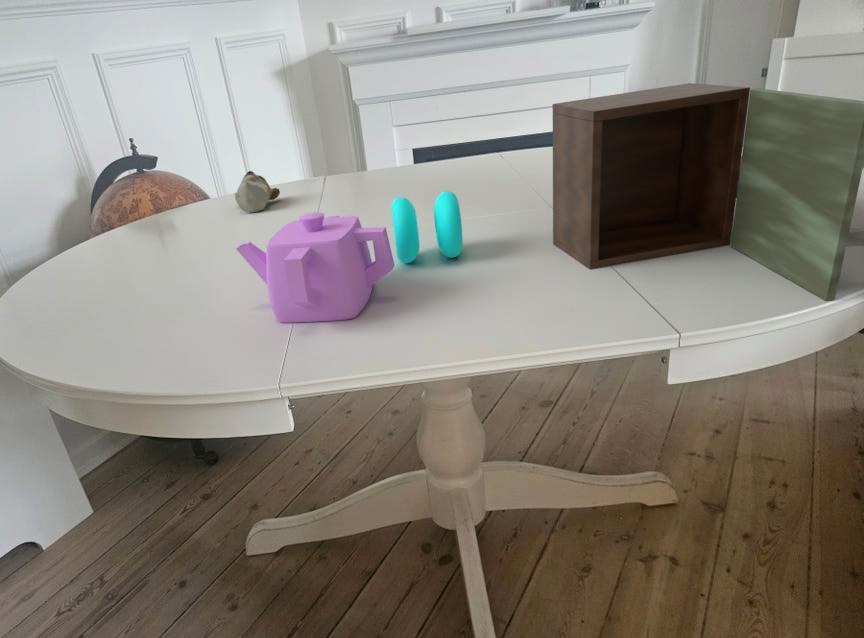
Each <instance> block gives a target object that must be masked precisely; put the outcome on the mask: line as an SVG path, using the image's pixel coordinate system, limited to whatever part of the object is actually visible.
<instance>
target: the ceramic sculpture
mask: <svg viewBox="0 0 864 638" xmlns="http://www.w3.org/2000/svg"><path fill="white" fill-rule="evenodd" d="M280 193H281V191H280V189H279V188H277V187H274V188H271V187H270V185H269V183H268V181H267V180H266V178H265V177H264V176H263V175H262V176H261V175H260V174H259V175H258V174H256V173H255V172H254V171H253V170H252V171H251V170H249V171H247V172H246V174H245V175H243V177H242V180H241V182H240V184H239V186H238V188H237V190H236V192H235V193H234V199H235V202H236V204H237V205H238V207H239V208H240V209H241V210H242V211H244V212H246V213H257V212H260V211H263V210H264V209H265V208H266V206H267V204H268V202H269V201H273V200H276V199H277V198H278V197H279V196H280Z"/></svg>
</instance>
